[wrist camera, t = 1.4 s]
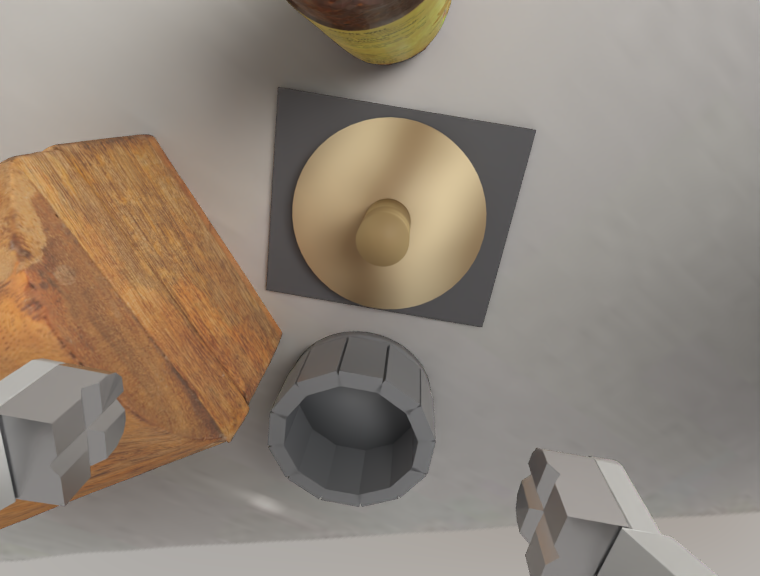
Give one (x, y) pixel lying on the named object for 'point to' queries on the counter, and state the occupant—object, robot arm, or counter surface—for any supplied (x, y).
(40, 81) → the counter surface
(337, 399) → the bowl
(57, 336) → the wooden box
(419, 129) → the lid
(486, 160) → the mat
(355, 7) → the sauce bottle
